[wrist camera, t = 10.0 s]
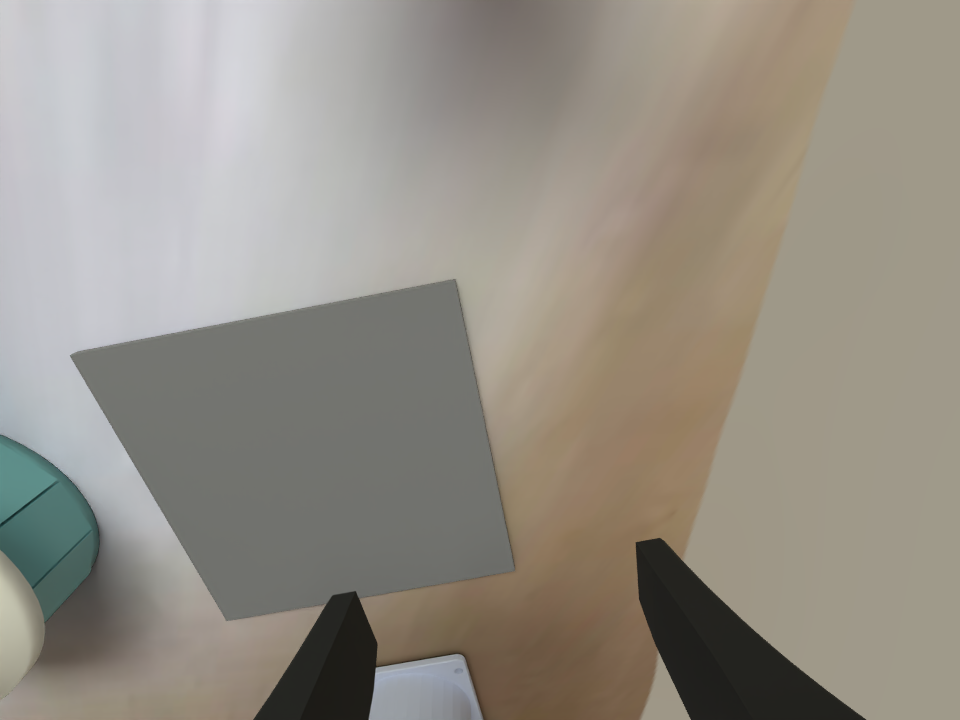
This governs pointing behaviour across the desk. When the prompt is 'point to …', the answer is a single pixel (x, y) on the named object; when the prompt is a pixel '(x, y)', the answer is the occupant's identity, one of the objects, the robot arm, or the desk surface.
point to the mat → (314, 448)
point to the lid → (17, 626)
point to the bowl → (44, 525)
